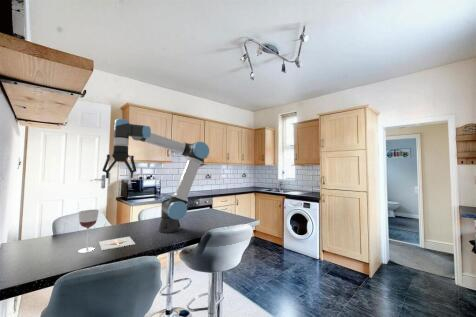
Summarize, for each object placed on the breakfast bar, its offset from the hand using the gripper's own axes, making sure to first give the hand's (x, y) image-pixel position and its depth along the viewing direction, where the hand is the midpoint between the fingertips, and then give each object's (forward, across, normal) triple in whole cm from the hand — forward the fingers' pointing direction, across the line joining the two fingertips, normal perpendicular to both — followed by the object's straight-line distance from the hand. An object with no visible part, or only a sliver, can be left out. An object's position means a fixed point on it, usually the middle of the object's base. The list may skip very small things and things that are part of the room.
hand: (119, 184), depth 123 cm
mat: (+34, 0, 0) cm, 34 cm away
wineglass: (+34, +14, +2) cm, 37 cm away
